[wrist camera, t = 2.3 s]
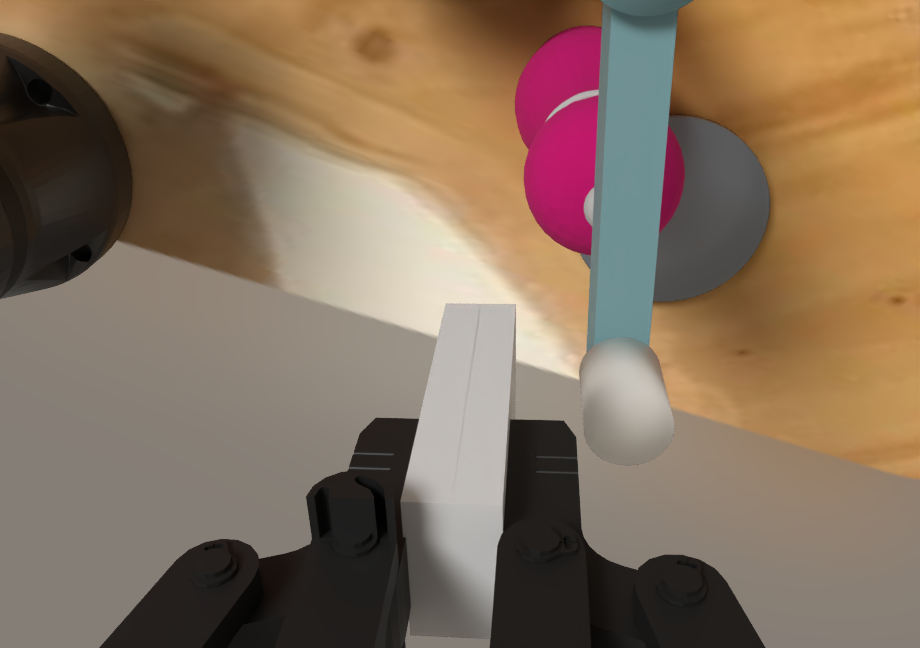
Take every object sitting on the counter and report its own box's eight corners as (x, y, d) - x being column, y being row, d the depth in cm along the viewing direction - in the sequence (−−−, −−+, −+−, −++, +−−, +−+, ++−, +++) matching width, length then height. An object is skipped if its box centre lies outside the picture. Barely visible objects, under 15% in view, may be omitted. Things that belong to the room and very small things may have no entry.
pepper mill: (670, 33, 45) (756, 138, 27) (627, 164, 48) (679, 332, 30) (536, 0, 44) (534, 84, 27) (502, 133, 48) (482, 285, 30)
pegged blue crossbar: (570, -150, 22) (580, -157, 17) (713, -154, 22) (770, -165, 16) (556, 356, 29) (560, 463, 24) (664, 357, 29) (692, 467, 23)
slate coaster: (568, 294, 52) (568, 300, 51) (574, 115, 47) (575, 118, 46) (752, 297, 51) (755, 302, 50) (779, 113, 46) (783, 117, 45)
